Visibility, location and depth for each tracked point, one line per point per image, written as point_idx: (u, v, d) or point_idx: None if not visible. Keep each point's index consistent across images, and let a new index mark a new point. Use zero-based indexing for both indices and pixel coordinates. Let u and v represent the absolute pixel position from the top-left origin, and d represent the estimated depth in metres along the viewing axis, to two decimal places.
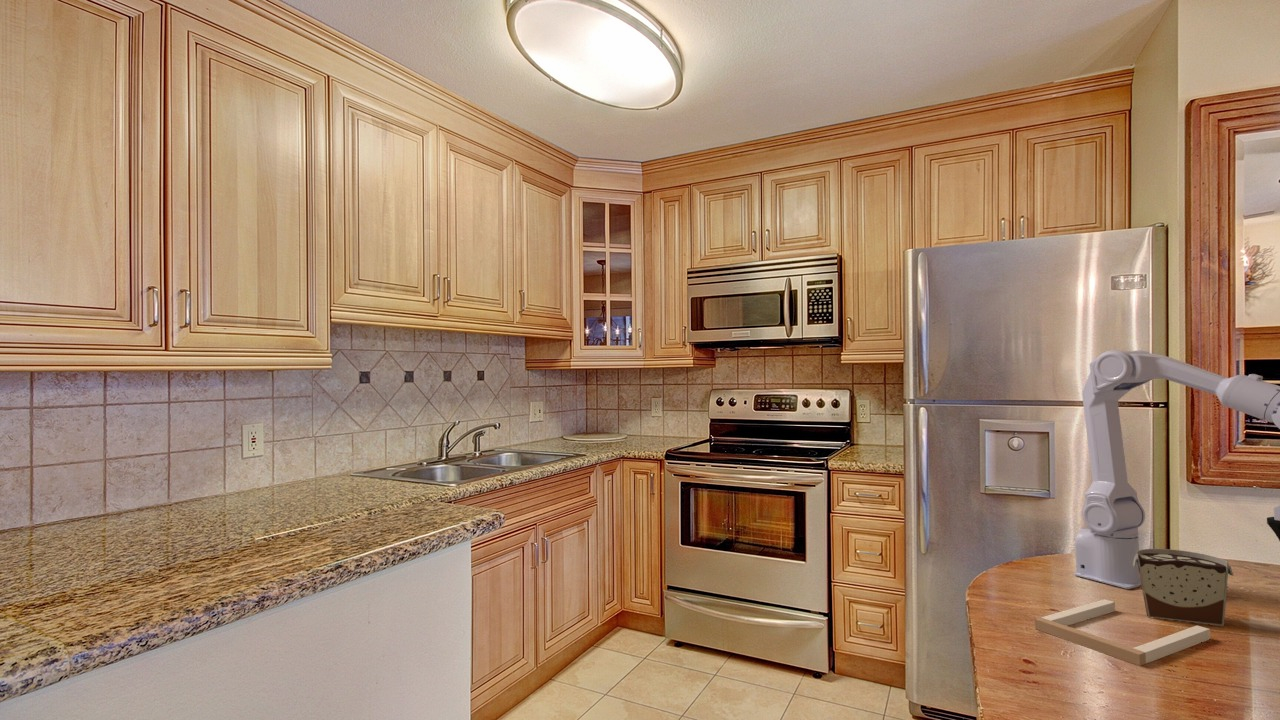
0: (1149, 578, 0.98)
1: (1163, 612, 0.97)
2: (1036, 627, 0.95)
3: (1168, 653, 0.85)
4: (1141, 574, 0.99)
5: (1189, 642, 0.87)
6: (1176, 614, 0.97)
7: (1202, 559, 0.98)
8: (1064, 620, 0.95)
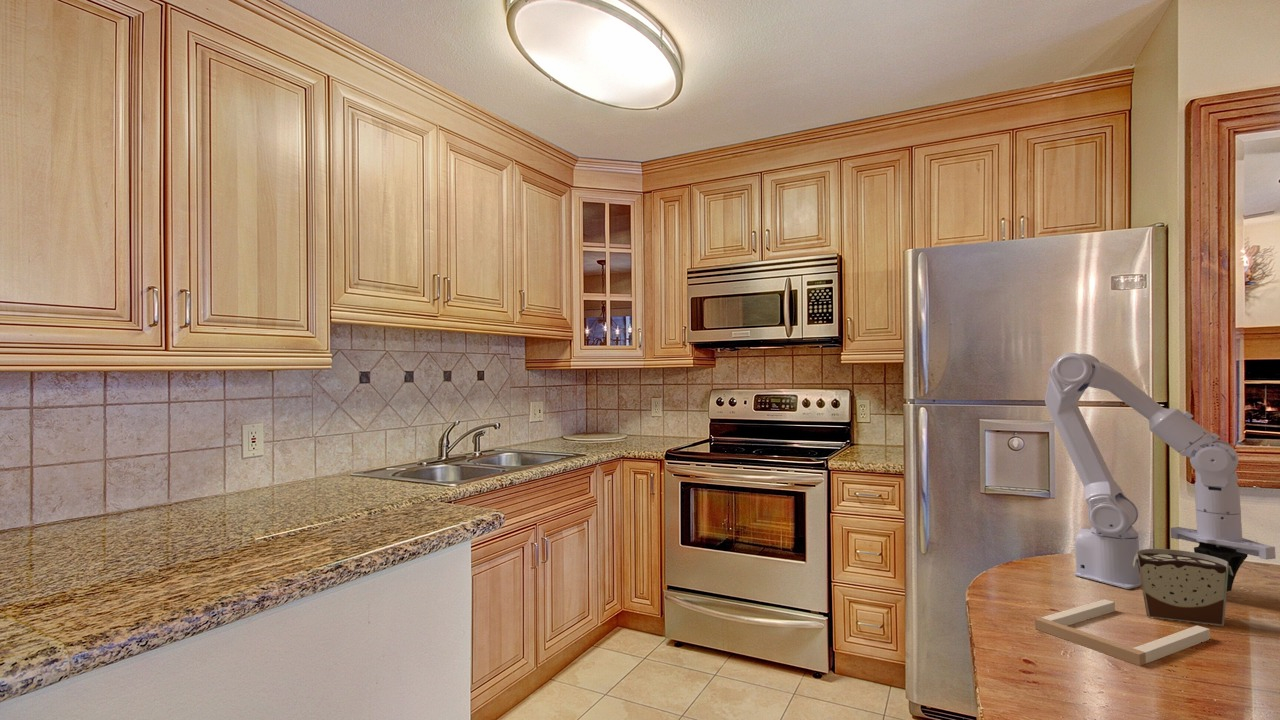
0: (1149, 578, 0.98)
1: (1163, 612, 0.97)
2: (1036, 627, 0.95)
3: (1168, 653, 0.85)
4: (1141, 574, 0.99)
5: (1189, 642, 0.87)
6: (1176, 614, 0.97)
7: (1202, 559, 0.98)
8: (1064, 620, 0.95)
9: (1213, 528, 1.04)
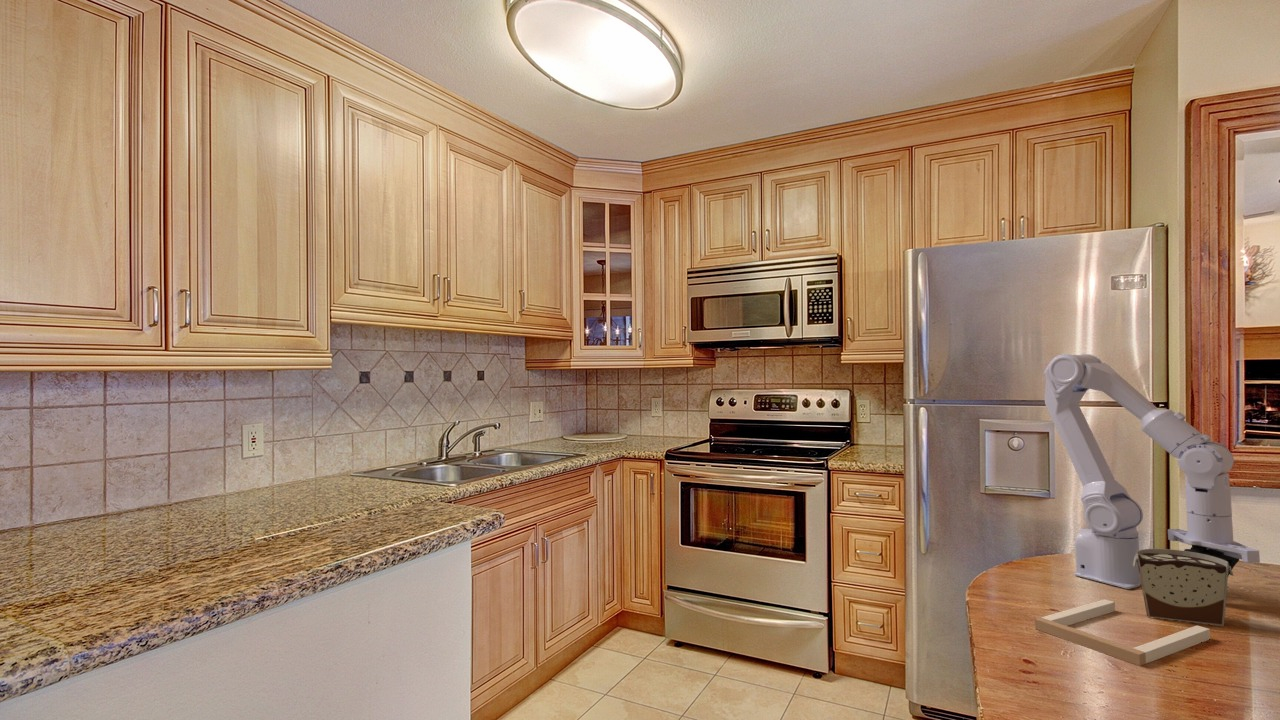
0: (1149, 578, 0.98)
1: (1163, 612, 0.97)
2: (1036, 627, 0.95)
3: (1168, 653, 0.85)
4: (1141, 574, 0.99)
5: (1189, 642, 0.87)
6: (1176, 614, 0.97)
7: (1202, 559, 0.98)
8: (1064, 620, 0.95)
9: (1199, 530, 1.03)
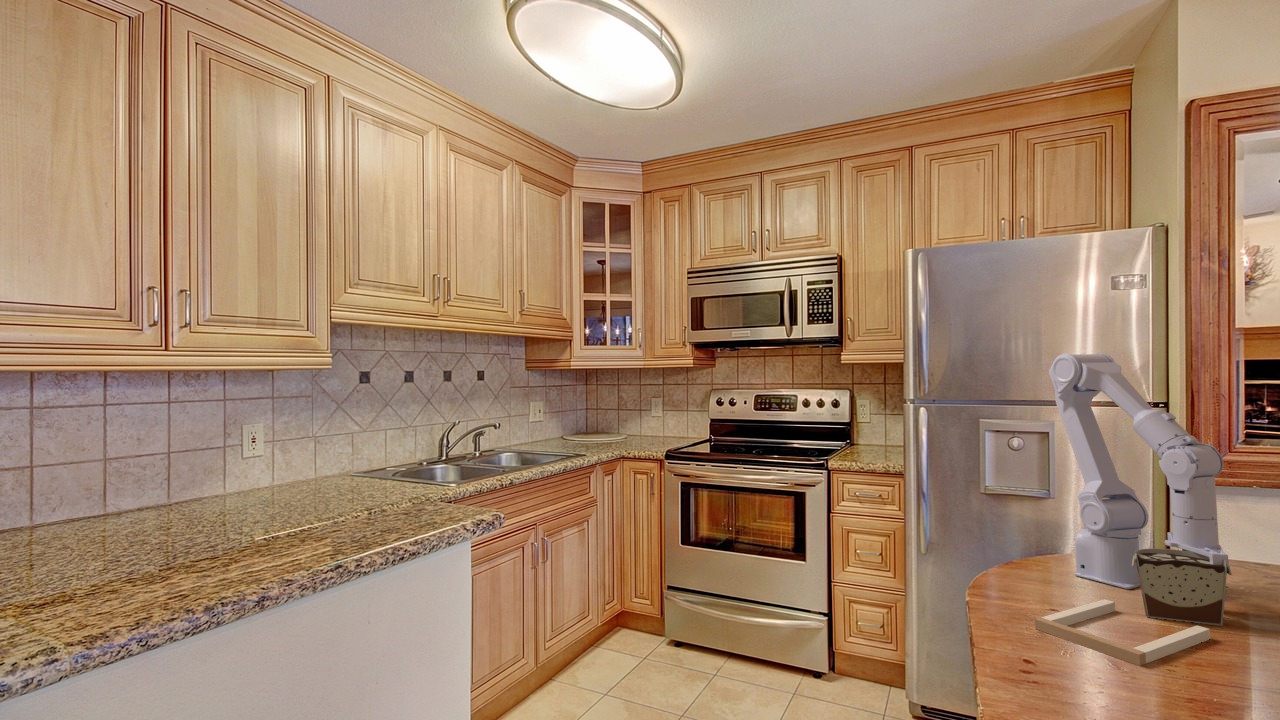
0: (1148, 578, 0.98)
1: (1162, 612, 0.97)
2: (1036, 627, 0.95)
3: (1168, 653, 0.85)
4: (1140, 574, 0.99)
5: (1189, 642, 0.87)
6: (1175, 614, 0.97)
7: (1201, 558, 0.98)
8: (1064, 620, 0.95)
9: (1178, 532, 1.02)
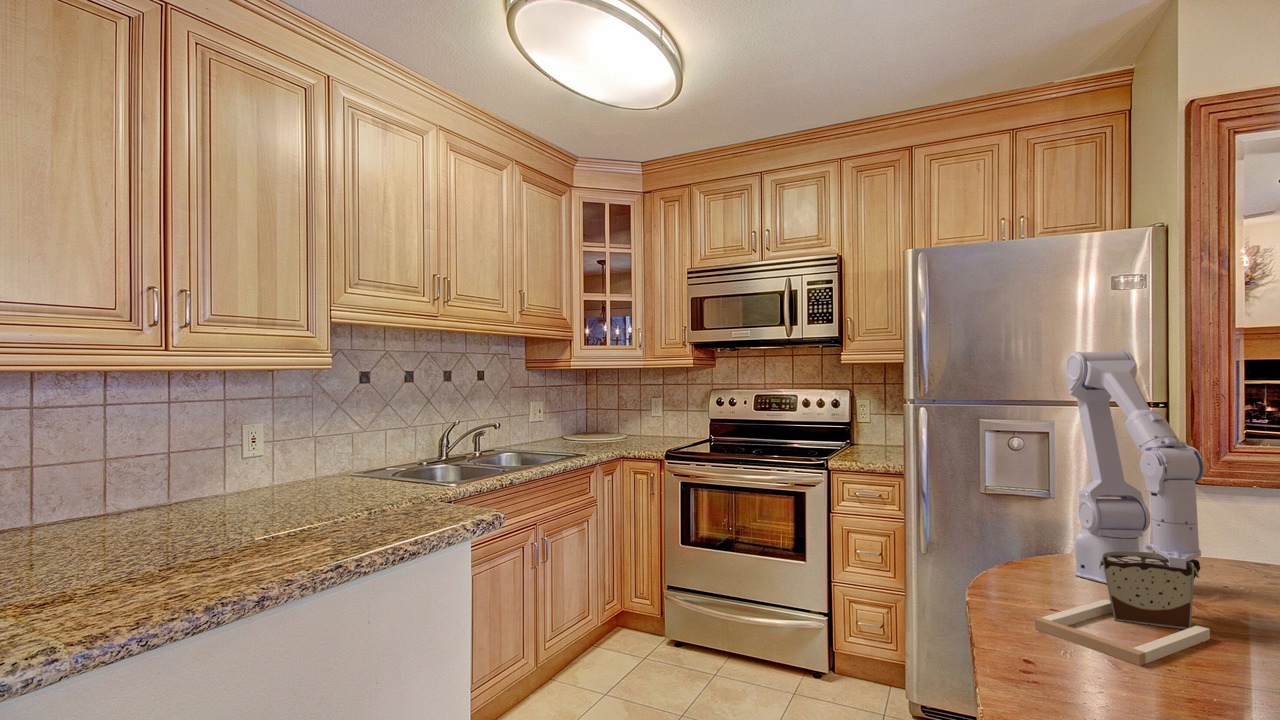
0: (1114, 580, 0.97)
1: (1129, 615, 0.96)
2: (1036, 627, 0.95)
3: (1168, 653, 0.85)
4: (1106, 576, 0.98)
5: (1189, 642, 0.87)
6: (1142, 617, 0.96)
7: None
8: (1064, 620, 0.95)
9: (1153, 535, 1.01)
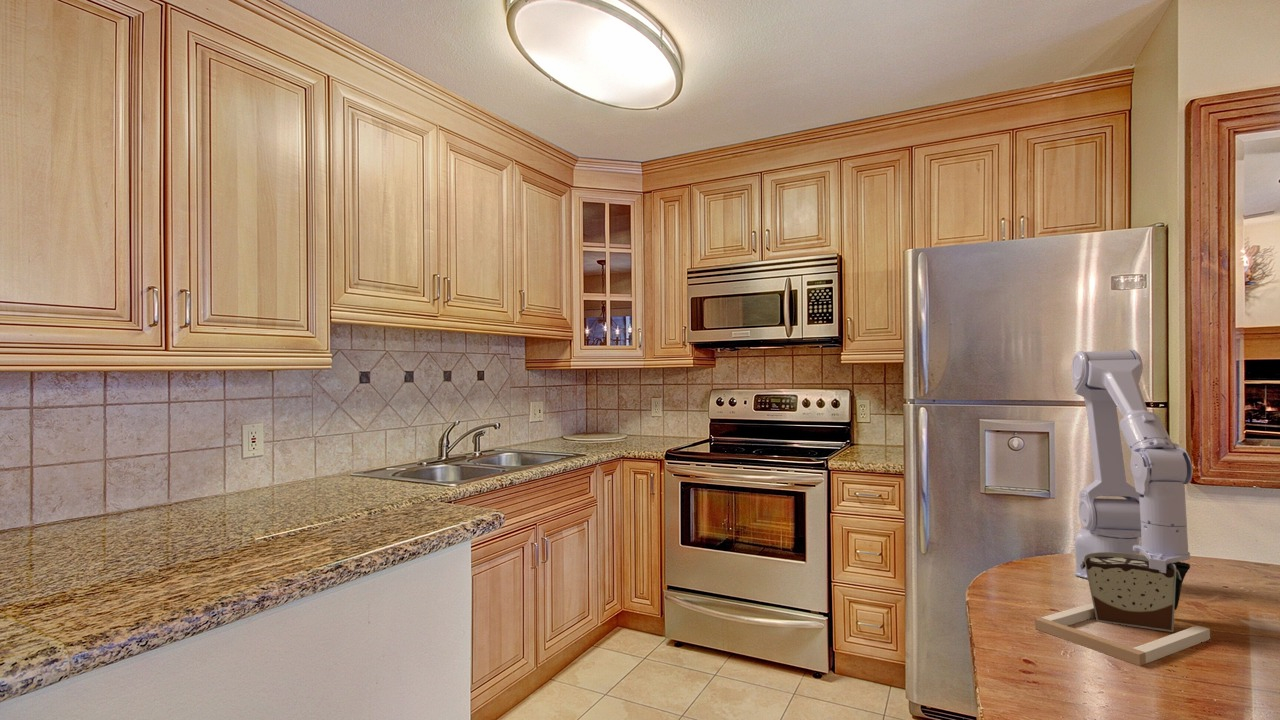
0: (1096, 581, 0.97)
1: (1111, 616, 0.96)
2: (1036, 627, 0.95)
3: (1168, 653, 0.85)
4: (1088, 577, 0.98)
5: (1189, 642, 0.87)
6: (1125, 618, 0.95)
7: None
8: (1064, 620, 0.95)
9: (1141, 537, 1.00)
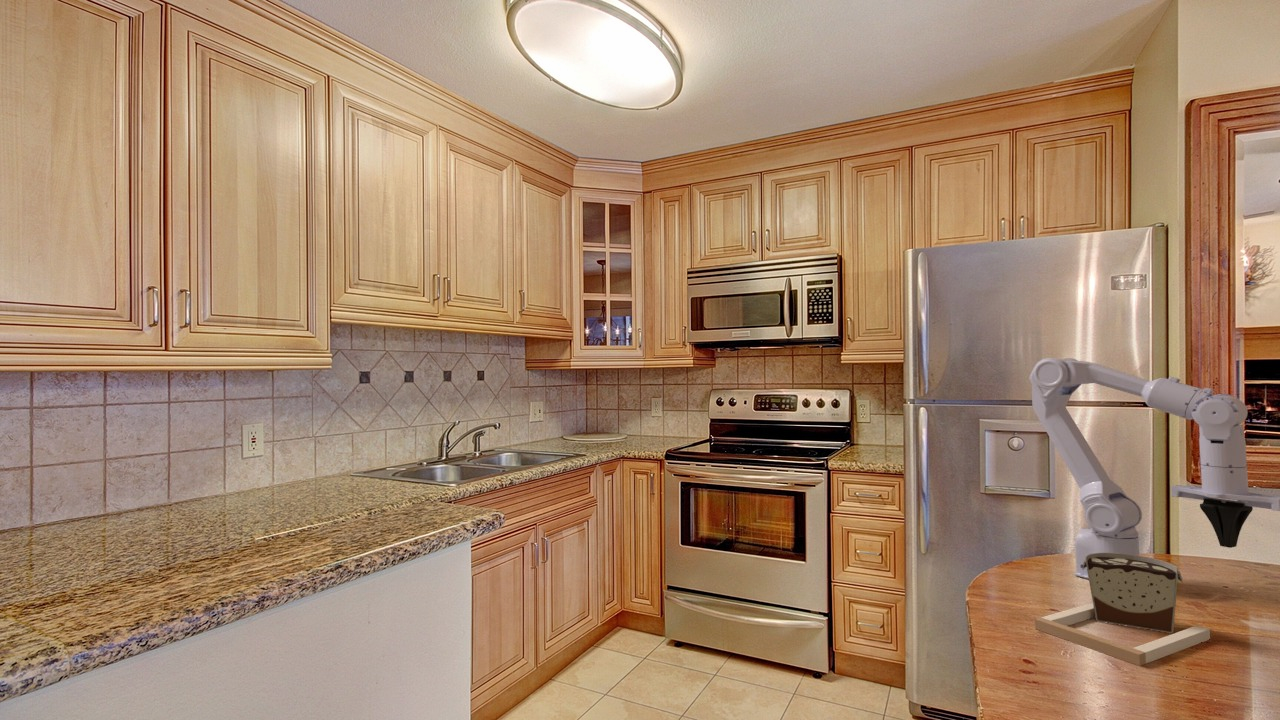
0: (1097, 581, 0.97)
1: (1111, 616, 0.96)
2: (1036, 627, 0.95)
3: (1168, 653, 0.85)
4: (1089, 577, 0.98)
5: (1189, 642, 0.87)
6: (1124, 619, 0.95)
7: (1158, 565, 0.96)
8: (1064, 620, 0.95)
9: (1222, 483, 1.01)
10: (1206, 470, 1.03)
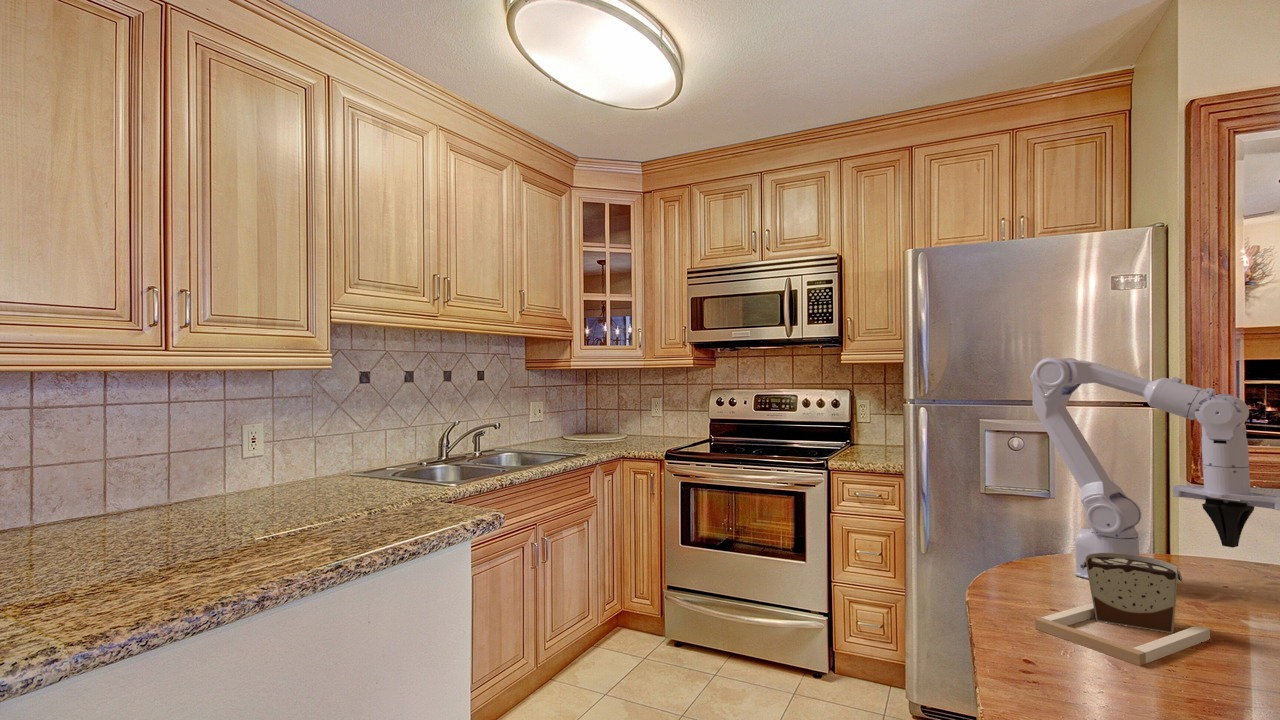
0: (1097, 581, 0.97)
1: (1111, 616, 0.96)
2: (1036, 627, 0.95)
3: (1168, 653, 0.85)
4: (1089, 577, 0.98)
5: (1189, 642, 0.87)
6: (1124, 619, 0.95)
7: (1158, 565, 0.96)
8: (1064, 620, 0.95)
9: (1226, 483, 1.01)
10: (1209, 470, 1.03)
